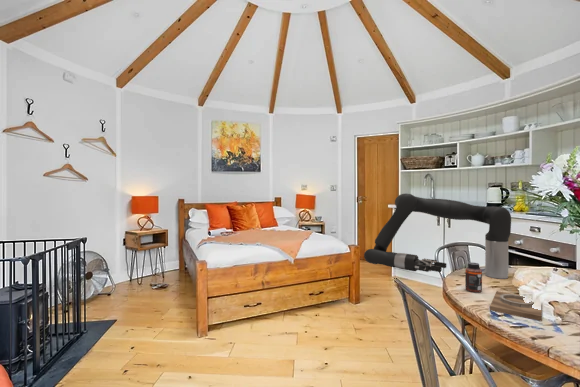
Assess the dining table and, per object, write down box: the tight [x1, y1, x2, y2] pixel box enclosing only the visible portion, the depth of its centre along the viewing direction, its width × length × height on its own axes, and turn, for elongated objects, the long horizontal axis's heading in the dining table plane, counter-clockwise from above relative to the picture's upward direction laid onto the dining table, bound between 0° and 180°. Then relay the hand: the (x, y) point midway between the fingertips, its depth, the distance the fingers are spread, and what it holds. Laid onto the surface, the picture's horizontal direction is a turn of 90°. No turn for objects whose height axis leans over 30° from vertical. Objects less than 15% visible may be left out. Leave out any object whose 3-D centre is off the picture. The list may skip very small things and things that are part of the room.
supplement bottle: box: [464, 261, 483, 293], centre depth 129 cm, size 6×6×11 cm
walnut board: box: [489, 290, 543, 322], centre depth 112 cm, size 20×14×3 cm
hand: (443, 267), depth 136 cm, fingers open, 8 cm apart
